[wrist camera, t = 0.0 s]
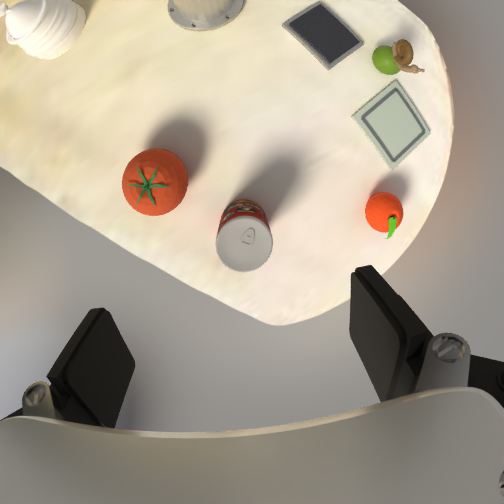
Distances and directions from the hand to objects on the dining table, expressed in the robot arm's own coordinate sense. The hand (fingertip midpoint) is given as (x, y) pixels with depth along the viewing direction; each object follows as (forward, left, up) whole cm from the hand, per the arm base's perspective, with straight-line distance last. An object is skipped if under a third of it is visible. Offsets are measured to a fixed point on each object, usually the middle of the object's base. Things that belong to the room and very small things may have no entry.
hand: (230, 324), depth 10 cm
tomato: (-9, -9, -38) cm, 39 cm away
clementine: (+21, +14, -38) cm, 45 cm away
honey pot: (-49, -2, -38) cm, 62 cm away
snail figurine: (+2, +33, -38) cm, 50 cm away
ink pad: (-9, +28, -37) cm, 48 cm away
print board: (+11, +27, -37) cm, 48 cm away
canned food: (+6, -5, -38) cm, 38 cm away
